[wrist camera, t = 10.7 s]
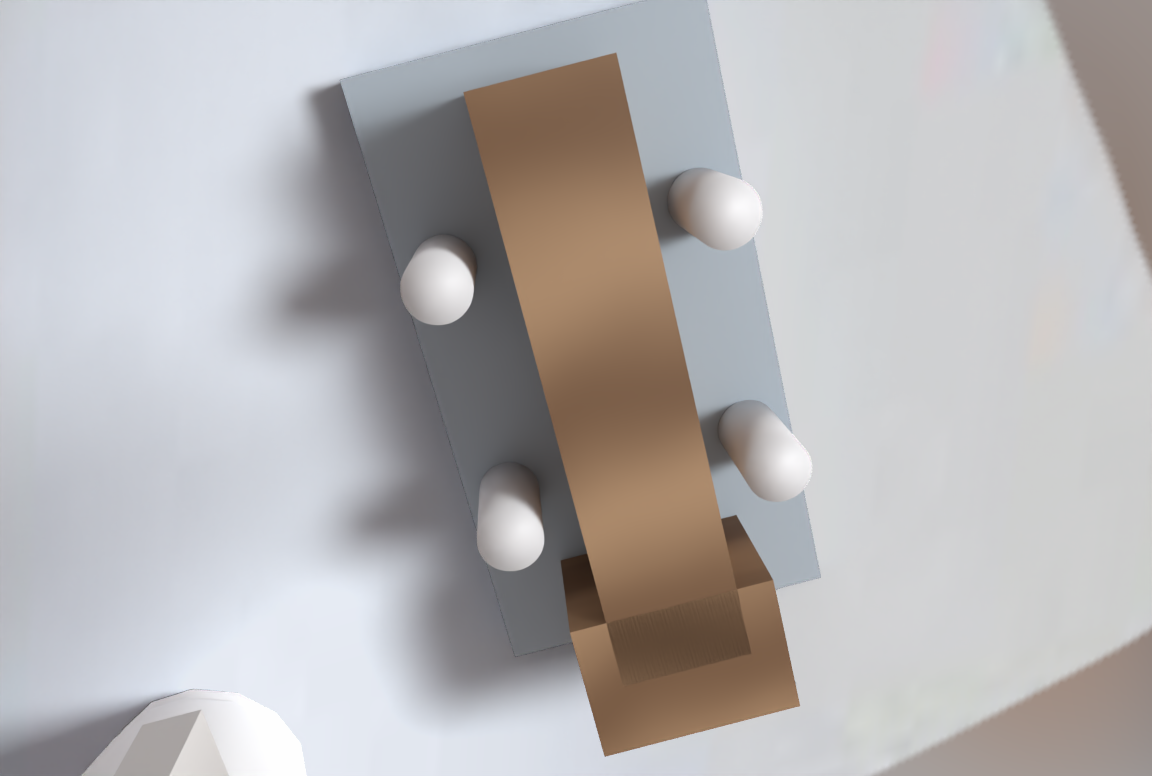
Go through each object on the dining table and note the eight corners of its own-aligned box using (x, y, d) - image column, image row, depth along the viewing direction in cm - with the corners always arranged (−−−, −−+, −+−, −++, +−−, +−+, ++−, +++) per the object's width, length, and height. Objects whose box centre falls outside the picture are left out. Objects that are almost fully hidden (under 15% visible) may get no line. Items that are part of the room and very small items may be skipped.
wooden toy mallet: (432, 102, 27) (420, 102, 23) (634, 50, 27) (659, 41, 23) (591, 670, 32) (604, 756, 28) (761, 626, 32) (799, 705, 28)
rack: (346, 80, 28) (315, 76, 23) (695, -11, 28) (733, -32, 23) (514, 637, 33) (516, 724, 29) (810, 561, 33) (859, 635, 29)
